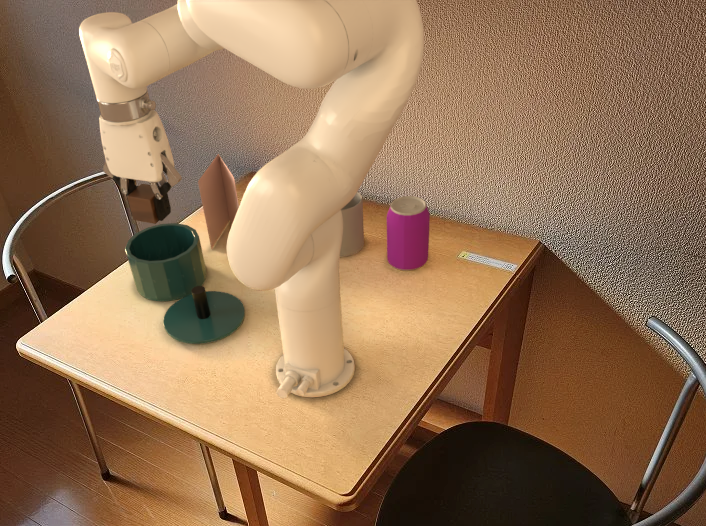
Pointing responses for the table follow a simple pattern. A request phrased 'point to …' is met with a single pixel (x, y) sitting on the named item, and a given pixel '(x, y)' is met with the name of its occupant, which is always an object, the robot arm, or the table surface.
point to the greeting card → (218, 198)
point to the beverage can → (408, 233)
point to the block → (143, 204)
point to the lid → (204, 316)
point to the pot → (166, 261)
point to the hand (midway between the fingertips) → (151, 213)
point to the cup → (352, 226)
